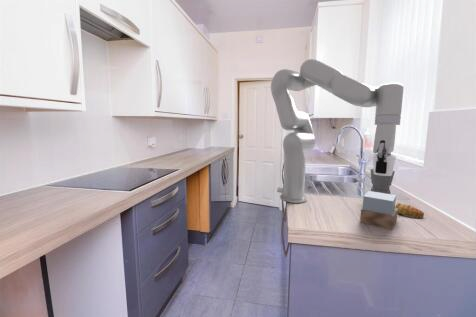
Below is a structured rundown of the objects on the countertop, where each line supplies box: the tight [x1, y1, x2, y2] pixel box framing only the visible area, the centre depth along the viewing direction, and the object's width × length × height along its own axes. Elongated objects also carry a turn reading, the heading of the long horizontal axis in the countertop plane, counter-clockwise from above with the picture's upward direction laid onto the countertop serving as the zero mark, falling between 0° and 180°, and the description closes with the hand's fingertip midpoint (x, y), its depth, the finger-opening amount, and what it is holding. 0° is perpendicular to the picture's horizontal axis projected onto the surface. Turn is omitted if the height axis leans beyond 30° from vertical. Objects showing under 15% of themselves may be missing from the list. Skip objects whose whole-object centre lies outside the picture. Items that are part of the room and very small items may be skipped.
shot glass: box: [372, 153, 396, 176], centre depth 84 cm, size 7×7×7 cm
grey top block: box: [361, 190, 397, 215], centre depth 86 cm, size 9×9×5 cm
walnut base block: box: [359, 208, 398, 231], centre depth 87 cm, size 10×10×5 cm
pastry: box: [395, 202, 425, 219], centre depth 94 cm, size 9×7×4 cm
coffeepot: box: [370, 168, 396, 194], centre depth 109 cm, size 15×9×18 cm, turn 148°
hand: (382, 171), depth 85 cm, fingers closed on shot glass, 6 cm apart
